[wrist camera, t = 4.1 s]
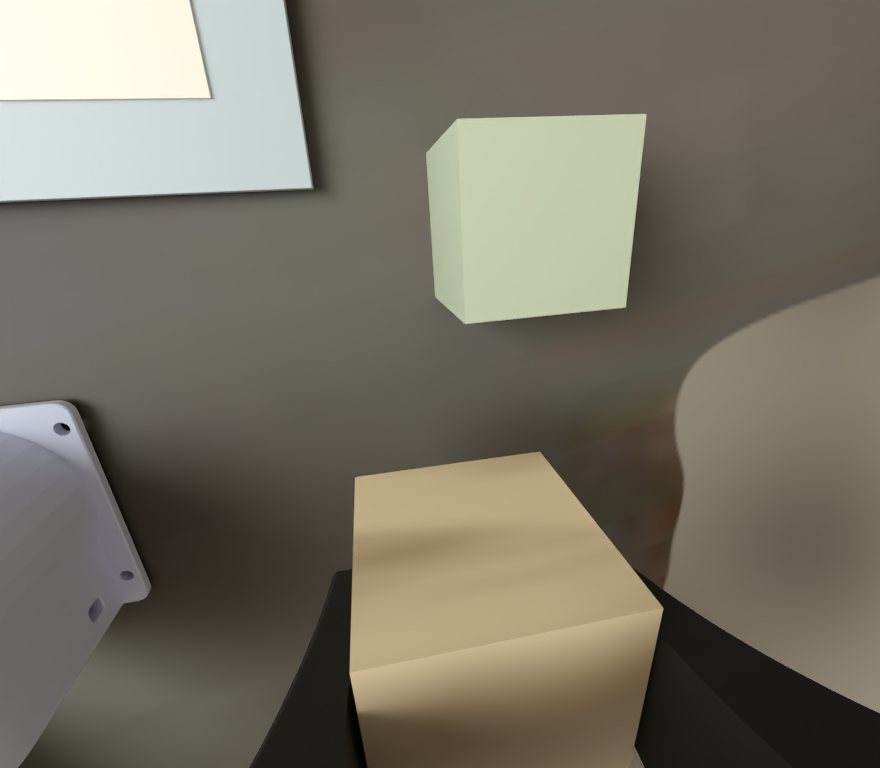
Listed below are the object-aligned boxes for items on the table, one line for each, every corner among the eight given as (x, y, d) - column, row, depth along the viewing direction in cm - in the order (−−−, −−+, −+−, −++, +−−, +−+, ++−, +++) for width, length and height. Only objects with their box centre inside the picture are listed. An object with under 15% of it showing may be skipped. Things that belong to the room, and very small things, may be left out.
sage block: (553, 285, 17) (625, 307, 12) (434, 296, 16) (464, 323, 12) (558, 148, 15) (646, 113, 11) (425, 153, 14) (457, 119, 10)
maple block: (533, 587, 13) (626, 784, 8) (375, 617, 12) (383, 850, 8) (539, 451, 11) (663, 607, 7) (355, 477, 10) (349, 673, 6)
